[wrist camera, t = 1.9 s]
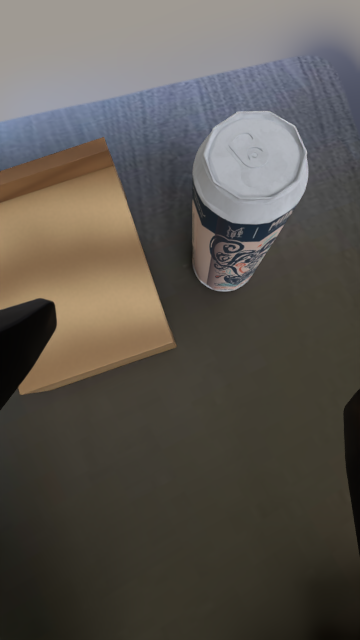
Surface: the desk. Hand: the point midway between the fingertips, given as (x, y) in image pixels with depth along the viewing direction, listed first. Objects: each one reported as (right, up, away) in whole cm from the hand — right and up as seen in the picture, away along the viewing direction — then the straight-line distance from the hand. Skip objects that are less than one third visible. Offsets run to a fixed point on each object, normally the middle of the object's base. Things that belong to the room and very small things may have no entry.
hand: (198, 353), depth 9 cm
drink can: (+3, +5, +15) cm, 16 cm away
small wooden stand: (-8, +4, +15) cm, 17 cm away
